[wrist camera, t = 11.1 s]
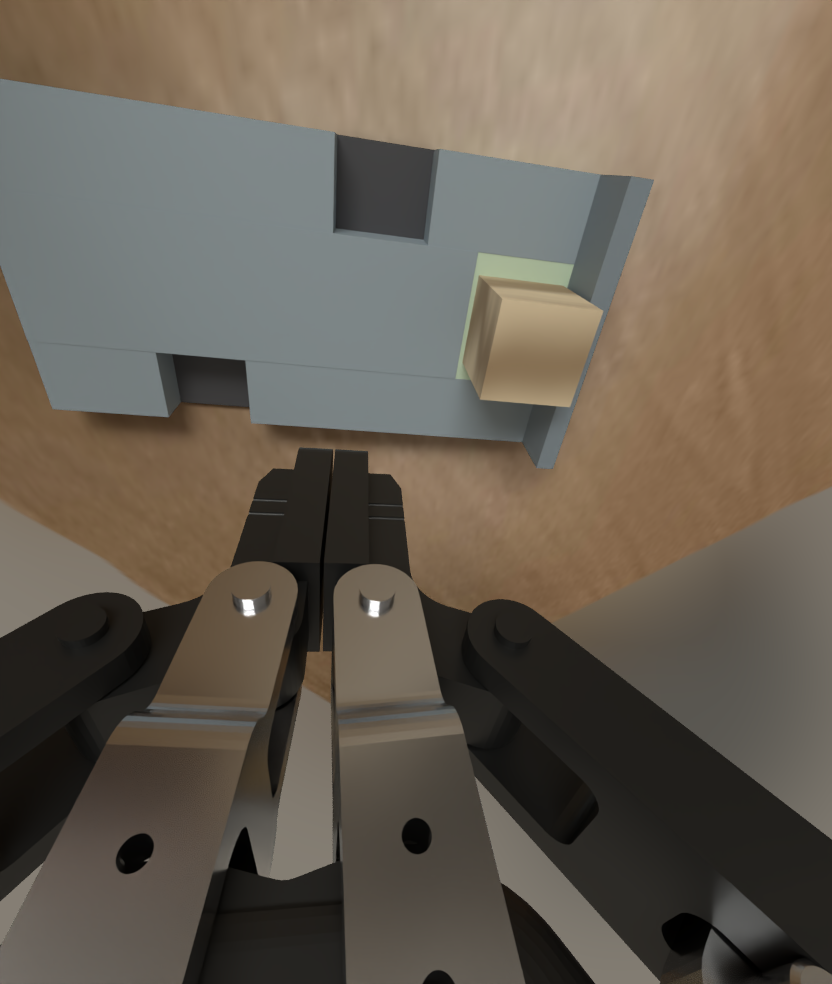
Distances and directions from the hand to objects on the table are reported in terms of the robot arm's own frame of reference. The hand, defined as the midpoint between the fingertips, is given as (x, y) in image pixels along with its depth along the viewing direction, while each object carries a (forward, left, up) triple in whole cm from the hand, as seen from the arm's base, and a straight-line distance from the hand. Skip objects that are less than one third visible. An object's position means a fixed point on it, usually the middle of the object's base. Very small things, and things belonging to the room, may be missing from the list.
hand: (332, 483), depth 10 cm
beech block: (0, +8, -16) cm, 18 cm away
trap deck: (0, -2, -18) cm, 18 cm away
